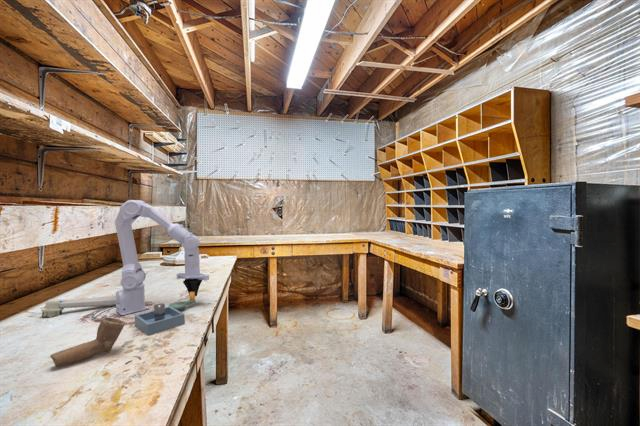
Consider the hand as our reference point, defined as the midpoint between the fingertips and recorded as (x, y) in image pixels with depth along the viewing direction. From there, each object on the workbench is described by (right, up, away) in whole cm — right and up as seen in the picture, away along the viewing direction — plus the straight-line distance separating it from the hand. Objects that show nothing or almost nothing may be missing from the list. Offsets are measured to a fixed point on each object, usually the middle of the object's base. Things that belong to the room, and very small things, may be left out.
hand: (193, 296), depth 124 cm
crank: (-2, -2, -5) cm, 6 cm away
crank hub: (-3, -4, -7) cm, 8 cm away
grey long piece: (-41, -4, -6) cm, 42 cm away
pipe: (-11, -6, -42) cm, 44 cm away
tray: (-3, -4, -20) cm, 21 cm away
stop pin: (-3, -3, -20) cm, 21 cm away
